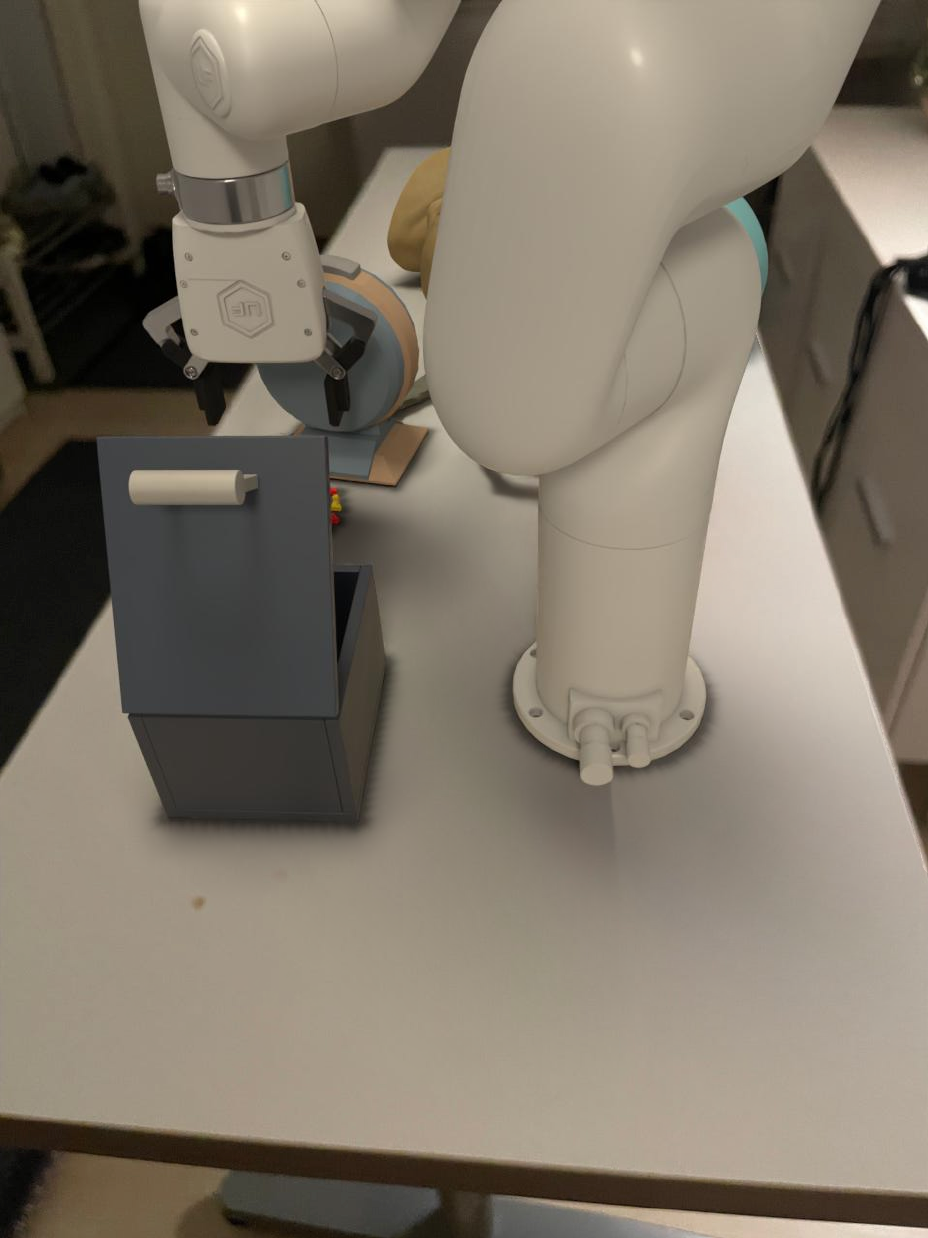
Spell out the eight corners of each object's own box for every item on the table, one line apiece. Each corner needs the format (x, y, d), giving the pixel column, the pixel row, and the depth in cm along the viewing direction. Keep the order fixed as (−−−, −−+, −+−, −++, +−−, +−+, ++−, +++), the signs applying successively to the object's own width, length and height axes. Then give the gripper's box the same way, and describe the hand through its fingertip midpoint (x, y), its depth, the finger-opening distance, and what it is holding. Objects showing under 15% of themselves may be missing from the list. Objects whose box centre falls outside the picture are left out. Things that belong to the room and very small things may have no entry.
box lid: (102, 436, 48) (53, 440, 43) (328, 435, 47) (304, 439, 42) (127, 709, 51) (85, 741, 46) (339, 712, 50) (318, 746, 46)
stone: (486, 376, 98) (452, 371, 101) (482, 357, 97) (448, 352, 100) (396, 423, 91) (363, 416, 94) (392, 403, 90) (359, 396, 93)
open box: (224, 661, 67) (196, 562, 61) (386, 663, 66) (373, 563, 60) (167, 817, 57) (127, 717, 51) (357, 822, 56) (338, 720, 50)
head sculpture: (557, 113, 111) (580, 221, 92) (553, 246, 123) (573, 366, 104) (380, 122, 111) (367, 231, 92) (394, 254, 123) (385, 375, 104)
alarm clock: (438, 431, 90) (426, 242, 78) (406, 486, 83) (387, 288, 71) (299, 416, 93) (268, 232, 82) (257, 468, 86) (216, 275, 74)
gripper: (91, 211, 61) (156, 441, 73) (356, 209, 60) (379, 443, 72) (129, 174, 67) (183, 394, 78) (372, 172, 66) (391, 395, 77)
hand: (277, 417), depth 75 cm, fingers open, 9 cm apart
